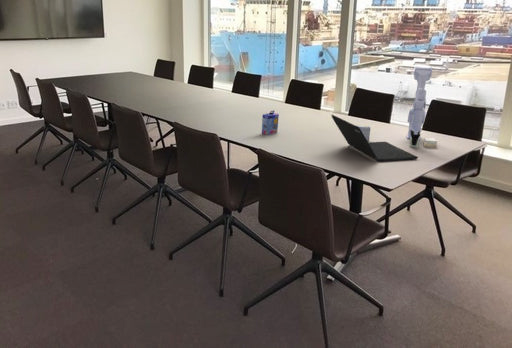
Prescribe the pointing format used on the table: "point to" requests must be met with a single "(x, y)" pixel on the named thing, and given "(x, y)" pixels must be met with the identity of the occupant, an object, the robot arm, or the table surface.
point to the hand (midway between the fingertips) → (413, 143)
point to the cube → (413, 145)
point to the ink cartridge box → (270, 123)
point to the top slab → (430, 141)
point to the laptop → (370, 143)
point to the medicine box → (365, 131)
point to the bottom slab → (428, 145)
